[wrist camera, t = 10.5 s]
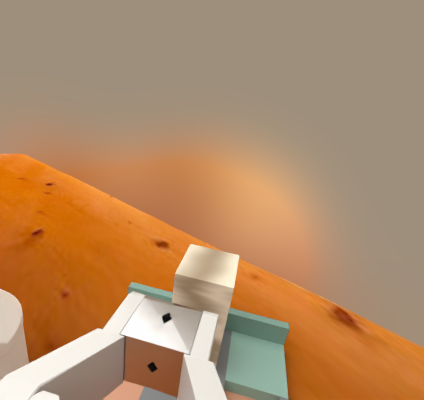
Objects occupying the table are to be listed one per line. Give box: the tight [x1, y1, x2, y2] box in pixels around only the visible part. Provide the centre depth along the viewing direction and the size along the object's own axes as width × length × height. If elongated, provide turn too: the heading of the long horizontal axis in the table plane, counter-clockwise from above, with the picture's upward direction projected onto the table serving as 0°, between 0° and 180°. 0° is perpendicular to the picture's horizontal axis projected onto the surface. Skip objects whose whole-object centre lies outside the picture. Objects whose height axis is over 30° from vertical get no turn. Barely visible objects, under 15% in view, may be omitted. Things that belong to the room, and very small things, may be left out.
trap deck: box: [103, 282, 289, 400], centre depth 27 cm, size 23×22×5 cm
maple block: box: [172, 244, 239, 367], centre depth 30 cm, size 6×6×13 cm
